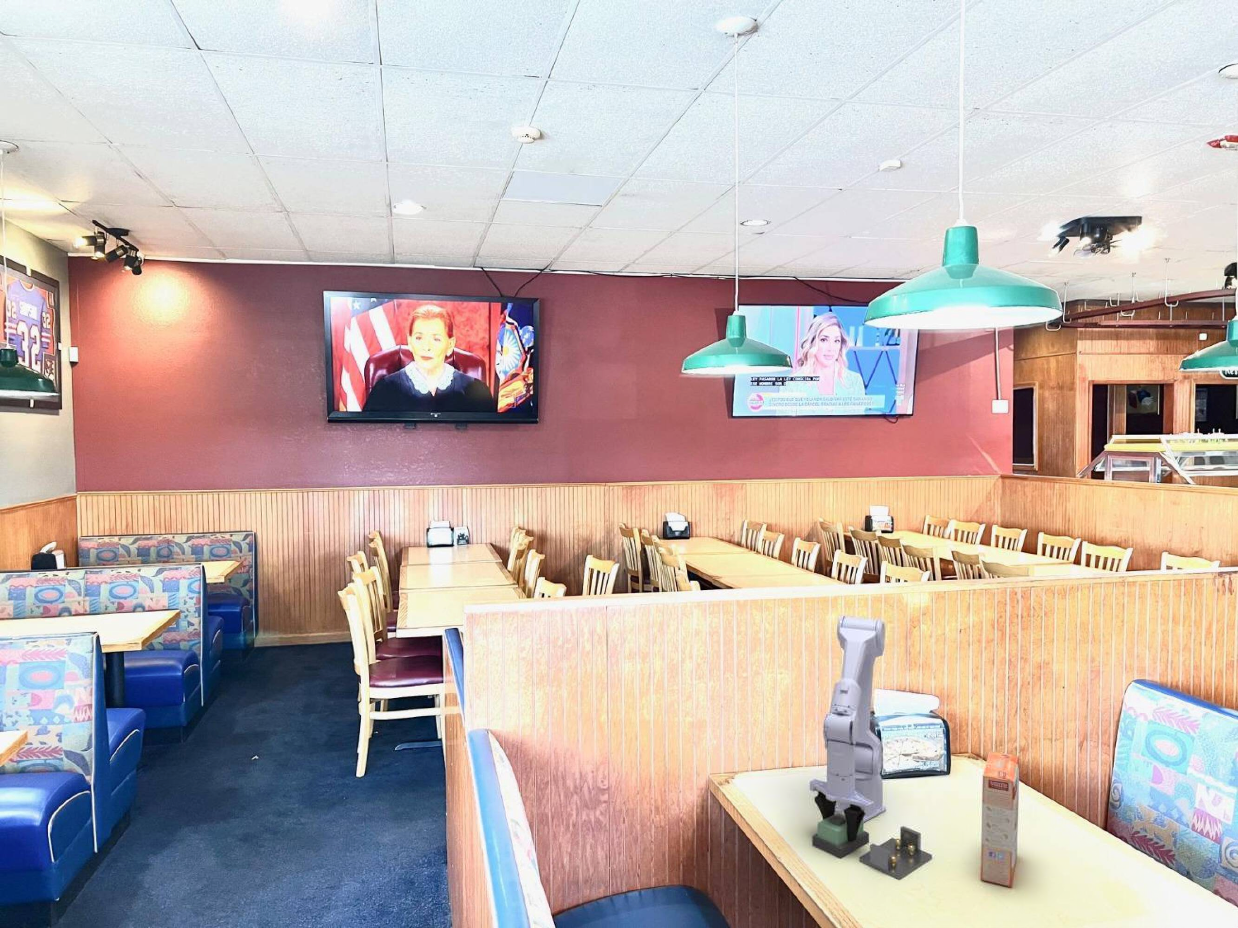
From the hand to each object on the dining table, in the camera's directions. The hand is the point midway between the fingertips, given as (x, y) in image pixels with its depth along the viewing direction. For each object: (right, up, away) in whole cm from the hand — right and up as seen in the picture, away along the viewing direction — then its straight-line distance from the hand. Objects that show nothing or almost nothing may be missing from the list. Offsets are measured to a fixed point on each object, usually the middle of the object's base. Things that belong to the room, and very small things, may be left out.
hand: (840, 834), depth 170 cm
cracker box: (+29, -2, -10) cm, 31 cm away
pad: (0, -2, 0) cm, 2 cm away
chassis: (+9, -2, -6) cm, 12 cm away
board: (0, 0, 0) cm, 0 cm away
